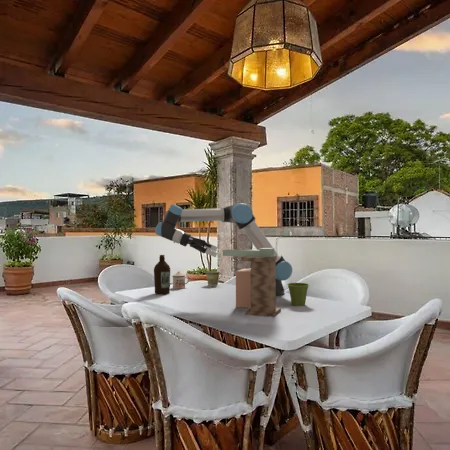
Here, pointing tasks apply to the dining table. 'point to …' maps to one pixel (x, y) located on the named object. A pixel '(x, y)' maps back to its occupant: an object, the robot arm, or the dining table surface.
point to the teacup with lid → (179, 280)
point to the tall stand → (263, 286)
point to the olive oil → (162, 277)
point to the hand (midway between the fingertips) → (216, 252)
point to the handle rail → (251, 252)
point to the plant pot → (298, 293)
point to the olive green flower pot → (213, 277)
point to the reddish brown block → (243, 288)
